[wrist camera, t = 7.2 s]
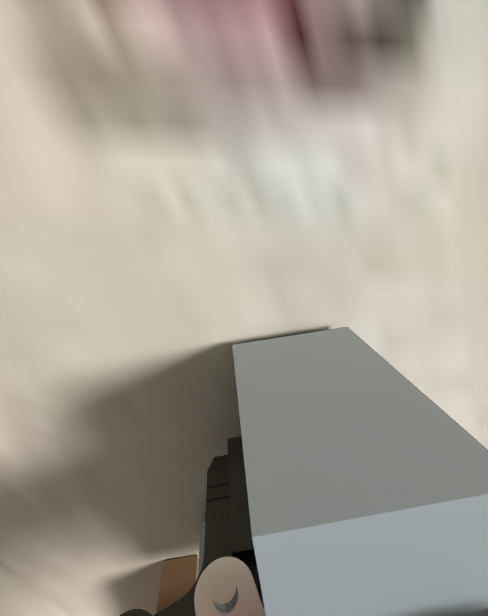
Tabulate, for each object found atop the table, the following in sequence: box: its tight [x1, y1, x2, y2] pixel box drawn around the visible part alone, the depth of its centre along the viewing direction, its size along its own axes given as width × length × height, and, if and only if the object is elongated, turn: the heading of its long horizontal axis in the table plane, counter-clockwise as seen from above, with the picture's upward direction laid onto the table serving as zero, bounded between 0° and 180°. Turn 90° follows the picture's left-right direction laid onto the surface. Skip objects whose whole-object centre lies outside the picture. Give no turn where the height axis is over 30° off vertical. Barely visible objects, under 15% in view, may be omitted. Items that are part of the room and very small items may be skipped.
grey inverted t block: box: [198, 327, 488, 616], centre depth 8 cm, size 10×9×6 cm
